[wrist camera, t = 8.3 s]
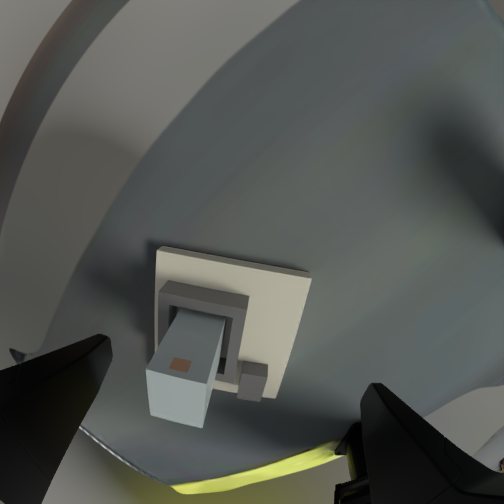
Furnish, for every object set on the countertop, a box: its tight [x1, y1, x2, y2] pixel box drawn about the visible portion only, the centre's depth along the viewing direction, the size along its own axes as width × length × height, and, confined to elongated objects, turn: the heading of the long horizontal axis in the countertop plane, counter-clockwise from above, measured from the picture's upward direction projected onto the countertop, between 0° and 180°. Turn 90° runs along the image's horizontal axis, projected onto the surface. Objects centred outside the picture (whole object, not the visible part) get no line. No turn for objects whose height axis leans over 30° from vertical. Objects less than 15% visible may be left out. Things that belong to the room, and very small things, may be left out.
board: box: [155, 246, 312, 402], centre depth 21 cm, size 12×11×3 cm
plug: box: [146, 307, 227, 428], centre depth 17 cm, size 4×3×8 cm
